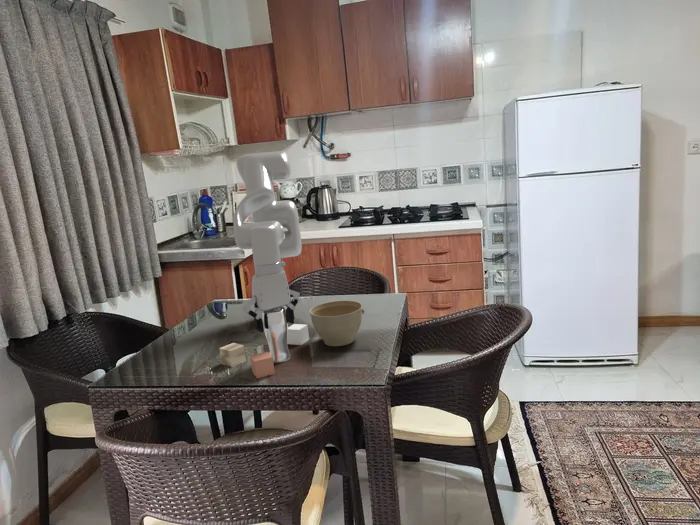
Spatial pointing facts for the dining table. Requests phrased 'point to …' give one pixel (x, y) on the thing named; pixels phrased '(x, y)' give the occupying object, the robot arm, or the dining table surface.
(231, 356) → the beech block
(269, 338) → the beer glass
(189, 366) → the dining table surface
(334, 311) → the planter bowl
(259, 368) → the rust block
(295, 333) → the cream block
